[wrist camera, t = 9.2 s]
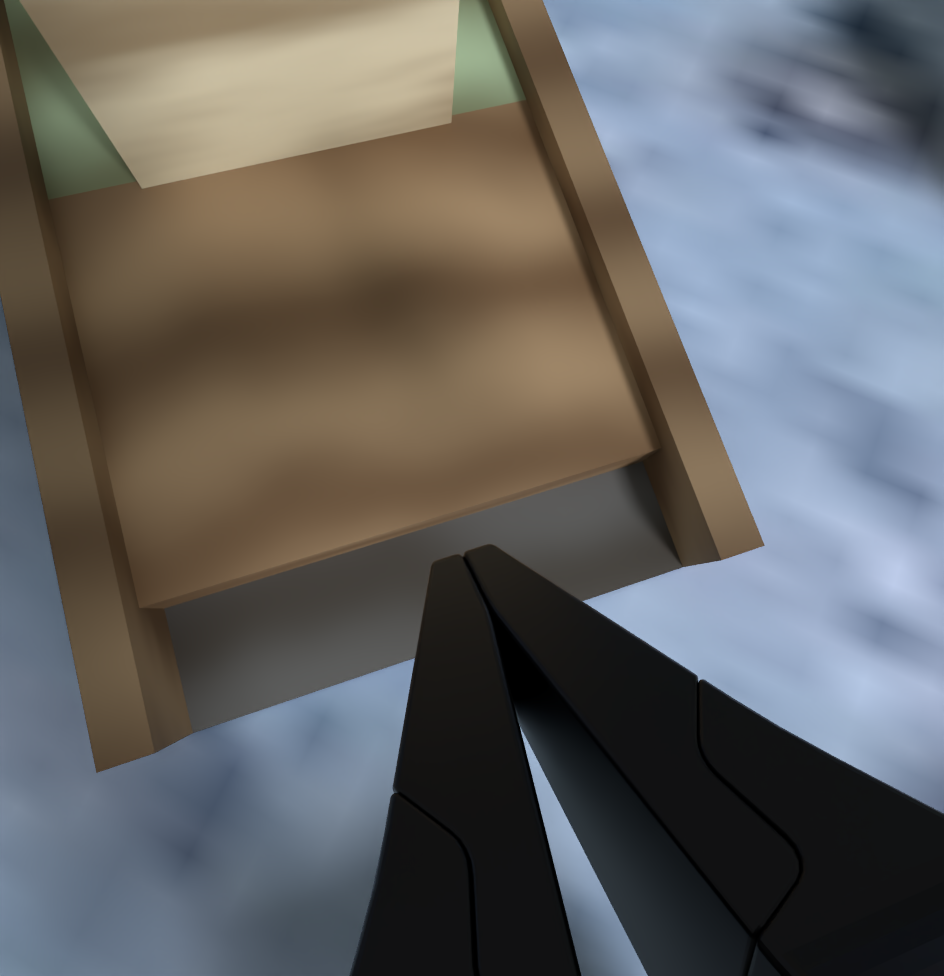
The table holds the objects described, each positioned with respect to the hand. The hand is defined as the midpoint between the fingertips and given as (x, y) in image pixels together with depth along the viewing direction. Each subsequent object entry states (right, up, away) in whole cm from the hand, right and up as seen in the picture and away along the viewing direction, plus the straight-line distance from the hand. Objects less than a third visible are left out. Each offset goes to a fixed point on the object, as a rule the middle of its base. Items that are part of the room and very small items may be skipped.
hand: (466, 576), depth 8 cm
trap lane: (-6, +13, +15) cm, 21 cm away
